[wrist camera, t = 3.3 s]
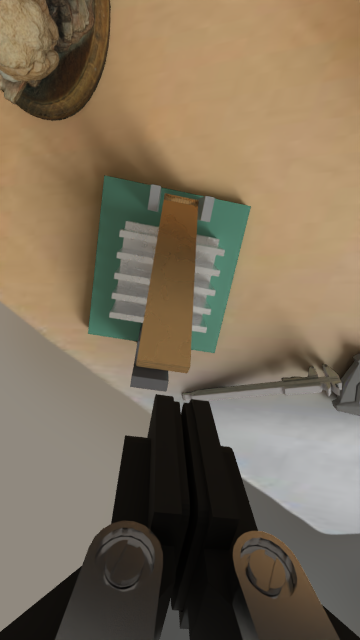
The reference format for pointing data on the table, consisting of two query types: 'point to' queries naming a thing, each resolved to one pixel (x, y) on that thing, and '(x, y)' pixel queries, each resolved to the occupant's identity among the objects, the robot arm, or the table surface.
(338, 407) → the graphics card
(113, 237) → the motherboard
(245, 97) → the table surface
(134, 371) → the lug
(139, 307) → the heat sink
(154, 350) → the strap
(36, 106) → the owl figurine
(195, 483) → the robot arm
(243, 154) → the table surface
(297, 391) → the caliper
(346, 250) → the table surface
